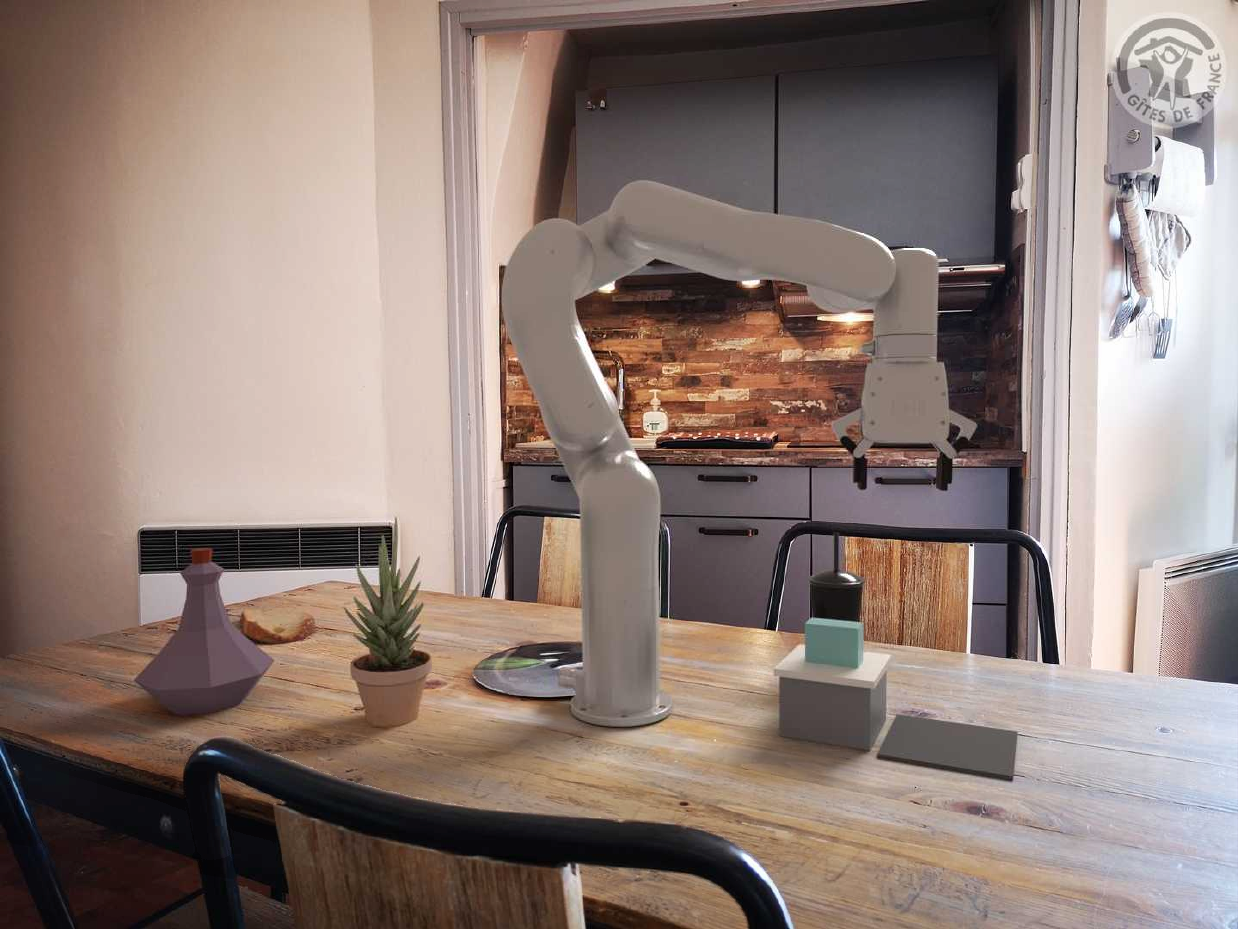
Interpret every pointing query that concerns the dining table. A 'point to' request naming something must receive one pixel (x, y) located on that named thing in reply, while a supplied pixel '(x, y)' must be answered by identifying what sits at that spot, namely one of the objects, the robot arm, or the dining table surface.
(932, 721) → the mat
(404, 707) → the potted plant
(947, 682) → the dining table surface
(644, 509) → the robot arm
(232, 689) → the flask
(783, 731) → the storage box
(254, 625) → the slice of bread
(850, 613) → the drinking cup
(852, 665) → the lid
